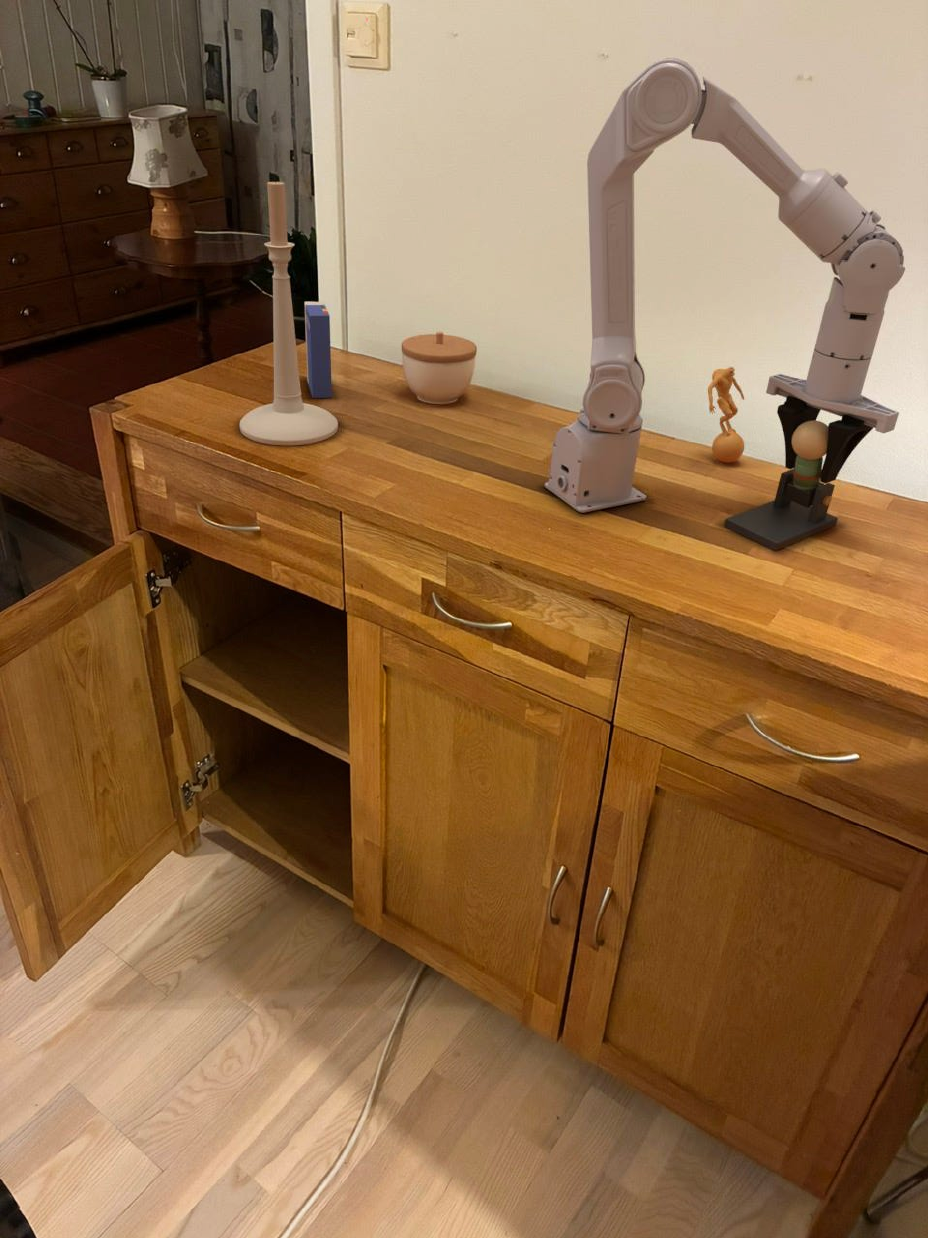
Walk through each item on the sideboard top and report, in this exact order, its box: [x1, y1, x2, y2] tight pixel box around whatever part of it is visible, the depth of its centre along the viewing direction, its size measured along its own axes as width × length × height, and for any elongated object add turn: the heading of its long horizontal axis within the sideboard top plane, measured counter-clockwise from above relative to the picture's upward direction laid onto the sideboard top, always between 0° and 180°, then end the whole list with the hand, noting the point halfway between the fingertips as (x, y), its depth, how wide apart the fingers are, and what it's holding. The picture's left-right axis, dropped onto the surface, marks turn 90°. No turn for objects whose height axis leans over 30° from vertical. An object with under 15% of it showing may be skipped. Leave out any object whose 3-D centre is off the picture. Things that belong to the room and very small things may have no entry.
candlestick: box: [239, 178, 339, 446], centre depth 113 cm, size 13×13×30 cm
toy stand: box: [723, 468, 839, 552], centre depth 102 cm, size 12×7×5 cm, turn 128°
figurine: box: [707, 366, 745, 464], centre depth 116 cm, size 8×6×12 cm
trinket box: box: [401, 331, 478, 405], centre depth 132 cm, size 11×11×9 cm
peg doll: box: [786, 420, 828, 508], centre depth 101 cm, size 4×4×10 cm
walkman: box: [304, 301, 333, 399], centre depth 132 cm, size 8×3×12 cm, turn 14°
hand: (810, 473), depth 102 cm, fingers closed on peg doll, 4 cm apart
